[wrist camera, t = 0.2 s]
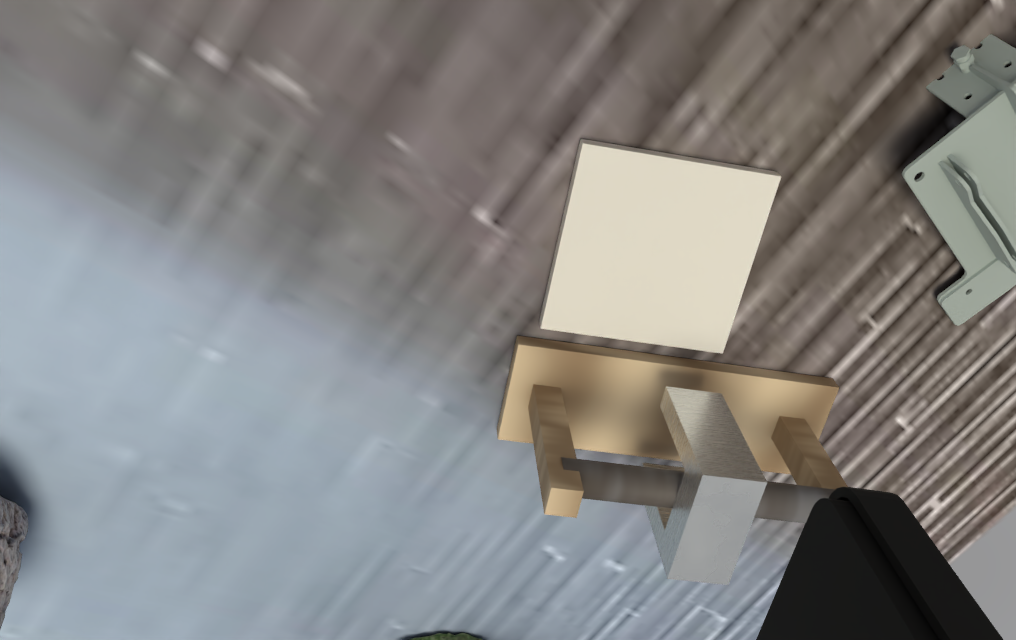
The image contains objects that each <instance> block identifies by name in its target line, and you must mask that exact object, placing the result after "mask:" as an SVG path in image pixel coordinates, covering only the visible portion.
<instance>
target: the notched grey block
mask: <svg viewBox="0 0 1016 640" xmlns="http://www.w3.org/2000/svg"><path fill="white" fill-rule="evenodd" d="M660 408H661V410H662V413H663V415H664V418H665V420H666V423H667V425H668V428H669V431H670V433H671V436H672V438H673V441H674V443H675V446H676V448H677V451H678V454H679V456H680V459H681V461H682V464H683V466H684V468H682V467H674V466H666V465H657V464H649V463H642V466H641V467H649V468H658V469H666V470H675V471H683V472H684V474H683V477H682V480H681V483H680V486H679V489H678V492H677V495H676V498H675V501H674V504H673V507H672V508H664V507H655V506H646V505H645V508H646V511H647V515H648V518H649V521H650V524H651V527H652V531H653V534H654V537H655V540H656V544H657V547H658V550H659V553H660V557H661V560H662V563H663V566H664V570H665V573H666V576H667V579H675V580H685V581H694V582H704V583H714V584H724V585H728V584H729V582H730V579H731V576H732V574H733V571H734V569H735V566H736V563H737V561H738V558H739V555H740V553H741V550H742V548H743V545H744V542H745V540H746V537H747V535H748V532H749V529H750V527H751V524H752V521H753V519H754V516H755V514H756V511H757V508H758V506H759V503H760V500H761V498H762V495H763V493H764V490H765V487H766V485H767V481H766V479H765V477H764V475H763V473H762V471H761V469H760V467H759V465H758V463H757V461H756V460H755V458H754V456H753V454H752V452H751V450H750V448H749V446H748V444H747V442H746V440H745V438H744V436H743V434H742V432H741V430H740V428H739V426H738V424H737V422H736V421H735V419H734V417H733V415H732V413H731V411H730V409H729V407H728V405H727V403H726V401H725V399H724V397H723V395H722V394H721V393H713V392H706V391H698V390H690V389H683V388H675V387H667V386H666V388H665V391H664V394H663V398H662V401H661V404H660Z"/></svg>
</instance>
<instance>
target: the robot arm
mask: <svg viewBox="0 0 1016 640" xmlns="http://www.w3.org/2000/svg"><path fill="white" fill-rule="evenodd" d="M756 640H1003V639H1002V637H1001V636H1000V634H999V633H998V632H997V630H996V629H995V628H994V626H993V625H992V623H991V622H990V621H989V619H988V618H987V616H986V615H985V614H984V612H983V611H982V610H981V608H980V607H979V605H978V604H977V603H976V601H975V600H974V598H973V597H972V596H971V594H970V593H969V591H968V590H967V589H966V587H965V586H964V584H963V583H962V582H961V580H960V579H959V578H958V576H957V575H956V573H955V572H954V571H953V569H952V568H951V566H950V565H949V564H948V562H947V561H946V559H945V558H944V557H943V555H942V554H941V553H940V551H939V550H938V548H937V547H936V546H935V544H934V543H933V541H932V540H931V539H930V537H929V536H928V534H927V533H926V532H925V530H924V529H923V528H922V526H921V525H920V523H919V522H918V521H917V519H916V518H915V516H914V515H913V514H912V512H911V511H910V510H909V508H908V507H907V505H906V504H905V503H904V501H903V500H902V499H901V498H900V497H899V496H898V495H896V494H893V493H889V492H882V491H874V490H867V489H859V488H851V487H840V488H837V489H836V490H835V491H833V492H832V493H831V495H830V496H829V498H822V499H819V500H818V501H817V502H816V503H815V504H814V506H813V508H812V510H811V512H810V514H809V517H808V519H807V521H806V524H805V526H804V528H803V531H802V533H801V535H800V538H799V540H798V543H797V545H796V547H795V550H794V552H793V554H792V557H791V559H790V561H789V564H788V566H787V568H786V571H785V573H784V576H783V578H782V580H781V583H780V585H779V587H778V590H777V592H776V594H775V597H774V599H773V602H772V604H771V606H770V609H769V611H768V613H767V616H766V618H765V620H764V623H763V625H762V627H761V630H760V632H759V635H758V637H757V639H756Z"/></svg>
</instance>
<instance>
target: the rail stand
mask: <svg viewBox="0 0 1016 640" xmlns="http://www.w3.org/2000/svg"><path fill="white" fill-rule="evenodd" d="M666 386H667V387H675V388H683V389H690V390H698V391H706V392H713V393H721V394H722V395H723V397H724V399H725V401H726V403H727V405H728V407H729V409H730V411H731V413H732V415H733V417H734V419H735V421H736V422H737V424H738V426H739V428H740V430H741V432H742V434H743V436H744V438H745V440H746V442H747V444H748V446H749V448H750V450H751V452H752V454H753V456H754V458H755V460H756V461H757V463H758V465H759V467H760V469H761V471H768V472H776V473H785V474H792V476H793V478H794V480H795V482H796V483H797V485H794V484H785V483H777V482H768V481H767V485H766V487H765V490H764V493H763V495H762V498H761V500H760V503H759V506H758V508H757V511H756V514H755V516H754V518H763V519H772V520H781V521H790V522H799V523H806V521H807V519H808V517H809V514H810V512H811V510H812V508H813V506H814V504H815V503H816V502H817V501H818V500H819V499H822V498H829V496H830V495H831V493H832V492H833V491H835V490H836V489H837V488H840V487H848V486H847V485H846V483H845V482H844V480H843V478H842V477H841V475H840V474H839V472H838V471H837V469H836V467H835V466H834V464H833V463H832V461H831V460H830V458H829V456H828V455H827V453H826V452H825V450H824V449H823V447H822V445H821V444H820V442H819V441H818V440H819V437H820V435H821V432H822V430H823V427H824V425H825V422H826V420H827V417H828V415H829V412H830V410H831V407H832V405H833V402H834V400H835V397H836V395H837V392H838V390H839V387H838V385H837V384H836V382H835V381H834V380H833V378H826V377H819V376H811V375H804V374H797V373H789V372H782V371H775V370H767V369H760V368H752V367H745V366H738V365H730V364H723V363H716V362H708V361H701V360H694V359H686V358H679V357H672V356H664V355H657V354H649V353H642V352H635V351H627V350H620V349H613V348H605V347H598V346H591V345H583V344H576V343H569V342H561V341H554V340H546V339H539V338H532V337H524V336H517V338H516V343H515V347H514V352H513V357H512V361H511V366H510V371H509V375H508V380H507V384H506V389H505V394H504V398H503V403H502V408H501V412H500V417H499V422H498V426H497V436H498V439H500V440H508V441H517V442H525V443H534V450H535V456H536V463H537V469H538V475H539V482H540V488H541V495H542V501H543V508H544V514H547V515H556V516H565V517H575V518H577V514H578V510H579V507H580V503H581V500H582V498H584V499H593V500H602V501H611V502H620V503H629V504H638V505H646V506H655V507H664V508H672V507H673V504H674V501H675V498H676V495H677V492H678V489H679V486H680V483H681V480H682V477H683V474H684V472H683V471H675V470H666V469H658V468H649V467H641V466H632V465H624V464H615V463H607V462H598V461H590V460H581V459H576V454H575V450H574V448H575V449H584V450H592V451H600V452H609V453H617V454H626V455H634V456H642V457H651V458H659V459H667V460H676V461H681V459H680V456H679V454H678V451H677V448H676V446H675V443H674V441H673V438H672V436H671V433H670V431H669V428H668V425H667V423H666V420H665V418H664V415H663V413H662V410H661V408H660V404H661V401H662V398H663V394H664V391H665V388H666Z"/></svg>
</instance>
